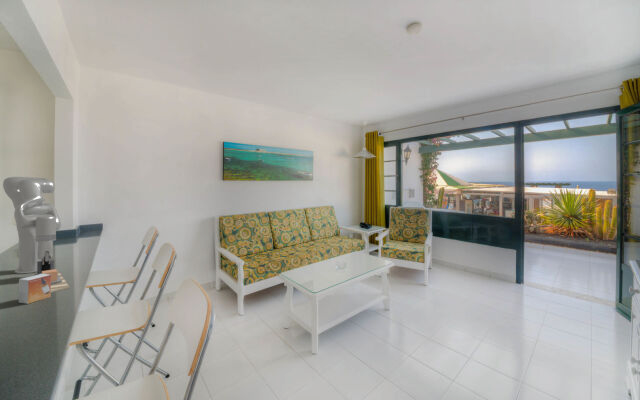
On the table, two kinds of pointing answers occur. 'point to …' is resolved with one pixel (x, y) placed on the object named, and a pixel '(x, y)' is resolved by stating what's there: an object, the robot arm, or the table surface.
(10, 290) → the table surface
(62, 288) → the board
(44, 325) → the table surface
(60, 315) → the table surface
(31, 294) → the small box
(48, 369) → the table surface
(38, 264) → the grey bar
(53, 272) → the cube
